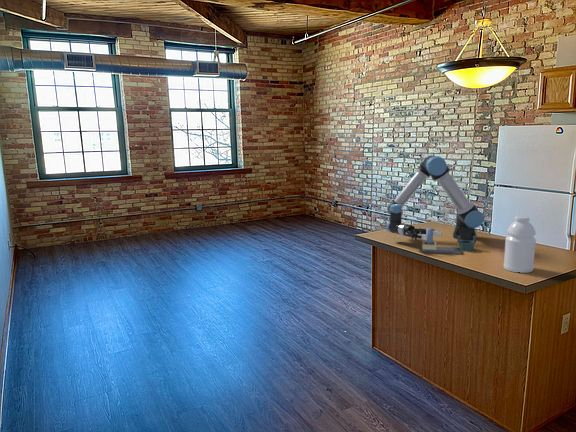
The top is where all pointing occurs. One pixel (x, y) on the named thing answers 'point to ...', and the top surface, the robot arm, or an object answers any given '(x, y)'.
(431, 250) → the rail
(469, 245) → the bracket
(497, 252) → the top surface
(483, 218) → the robot arm
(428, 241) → the peg
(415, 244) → the top surface
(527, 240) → the bottle
